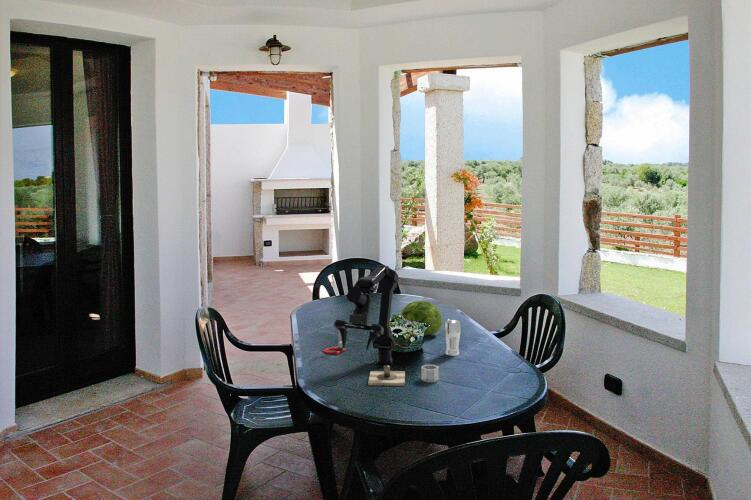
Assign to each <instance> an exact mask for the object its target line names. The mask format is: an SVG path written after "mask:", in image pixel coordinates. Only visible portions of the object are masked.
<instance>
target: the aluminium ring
mask: <svg viewBox="0 0 751 500" xmlns="http://www.w3.org/2000/svg"><path fill="white" fill-rule="evenodd" d="M420 372H421V377H420V378H421V382H424V383H430V384H431V383H437V382H440V367H439V365H435V364H424V365H421V371H420Z"/></svg>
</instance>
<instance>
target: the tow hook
mask: <svg viewBox="0 0 751 500" xmlns="http://www.w3.org/2000/svg"><path fill="white" fill-rule="evenodd" d="M337 332H338V333H337V334H338V337H337V338H338V341H337V342H338V345H337V346H338V347H335V346H334V347H328V348H325V349H324V350H323V353H324V354H329V355H333V354H334V355H340V354H342V353H344V352H346V350H347V349H346V347H345V348H343V344H342V337H341V333H340V331H339V330H337Z"/></svg>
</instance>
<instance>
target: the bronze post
mask: <svg viewBox="0 0 751 500" xmlns="http://www.w3.org/2000/svg"><path fill="white" fill-rule="evenodd" d="M383 371H384V377H385V378H389V377H390V371H391V364H383Z"/></svg>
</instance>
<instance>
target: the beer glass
mask: <svg viewBox="0 0 751 500" xmlns="http://www.w3.org/2000/svg"><path fill="white" fill-rule="evenodd" d="M444 338H445V342H446V343H445V344H446V348H445V349H446V350H445V355H446V356H451V357H457V356H459V355H460V350H459V349H460V348H459V345H460V344H459V343H460V339H461V321H460V320H458V319H446V320H445V321H444Z"/></svg>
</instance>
